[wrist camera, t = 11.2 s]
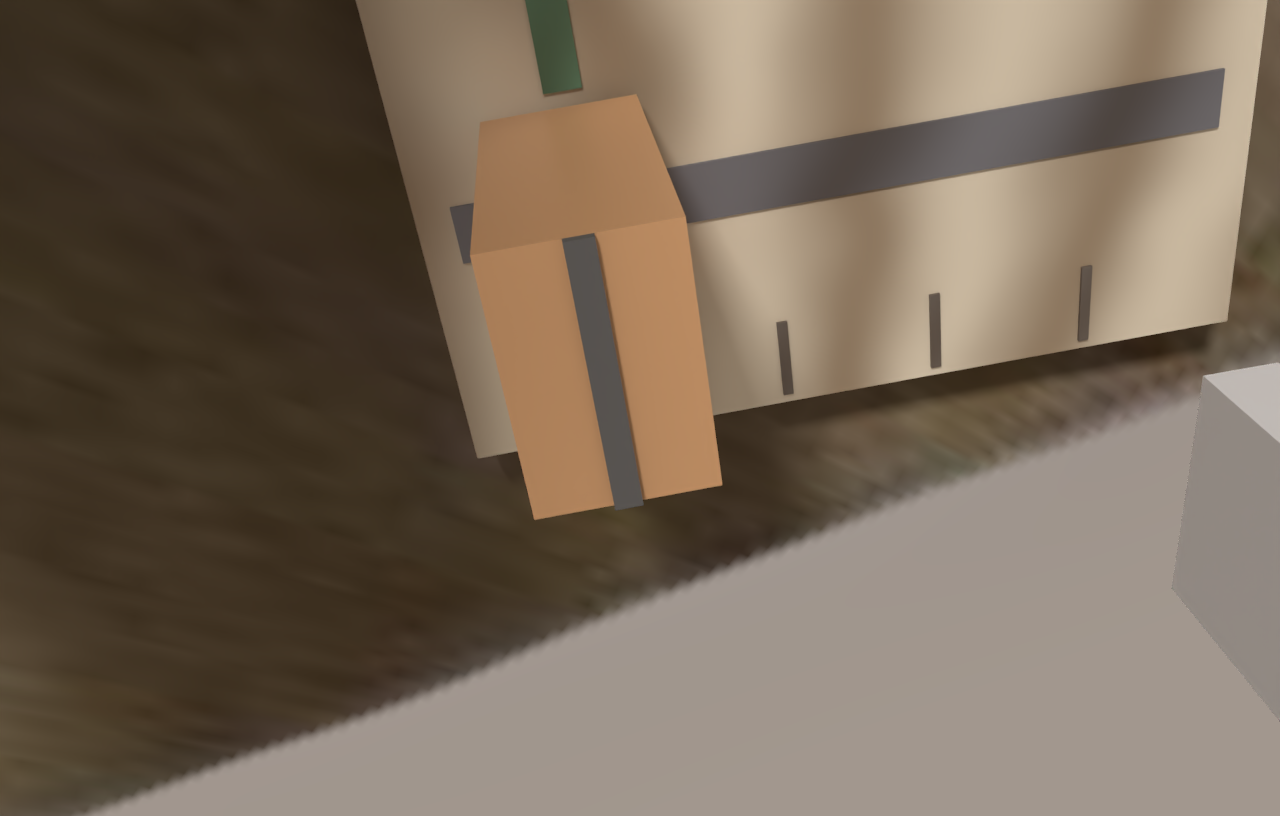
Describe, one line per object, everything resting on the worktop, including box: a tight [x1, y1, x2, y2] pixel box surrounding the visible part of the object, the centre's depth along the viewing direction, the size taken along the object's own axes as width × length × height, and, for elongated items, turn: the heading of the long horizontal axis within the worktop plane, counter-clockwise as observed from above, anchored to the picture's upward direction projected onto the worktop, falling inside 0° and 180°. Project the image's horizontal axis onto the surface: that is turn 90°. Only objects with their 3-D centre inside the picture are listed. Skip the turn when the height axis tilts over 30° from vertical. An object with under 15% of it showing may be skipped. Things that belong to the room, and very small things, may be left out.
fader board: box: [356, 0, 1267, 458], centre depth 31 cm, size 23×14×2 cm, turn 99°
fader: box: [470, 94, 722, 520], centre depth 26 cm, size 4×6×9 cm, turn 9°
